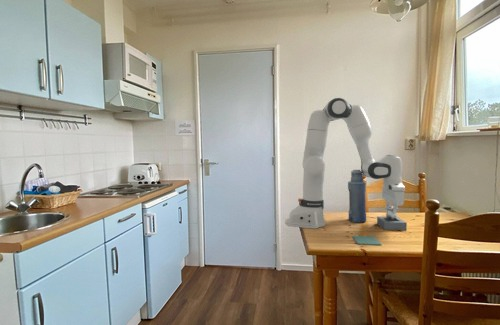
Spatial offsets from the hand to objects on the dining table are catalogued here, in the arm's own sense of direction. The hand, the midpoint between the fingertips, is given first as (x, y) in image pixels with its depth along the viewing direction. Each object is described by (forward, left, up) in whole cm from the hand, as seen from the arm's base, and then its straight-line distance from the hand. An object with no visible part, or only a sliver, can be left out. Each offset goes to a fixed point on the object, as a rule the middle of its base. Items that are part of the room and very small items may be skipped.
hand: (391, 210), depth 147 cm
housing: (0, 0, -9) cm, 9 cm away
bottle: (-15, +10, -9) cm, 20 cm away
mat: (-20, -24, -9) cm, 32 cm away
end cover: (0, 0, -5) cm, 5 cm away
